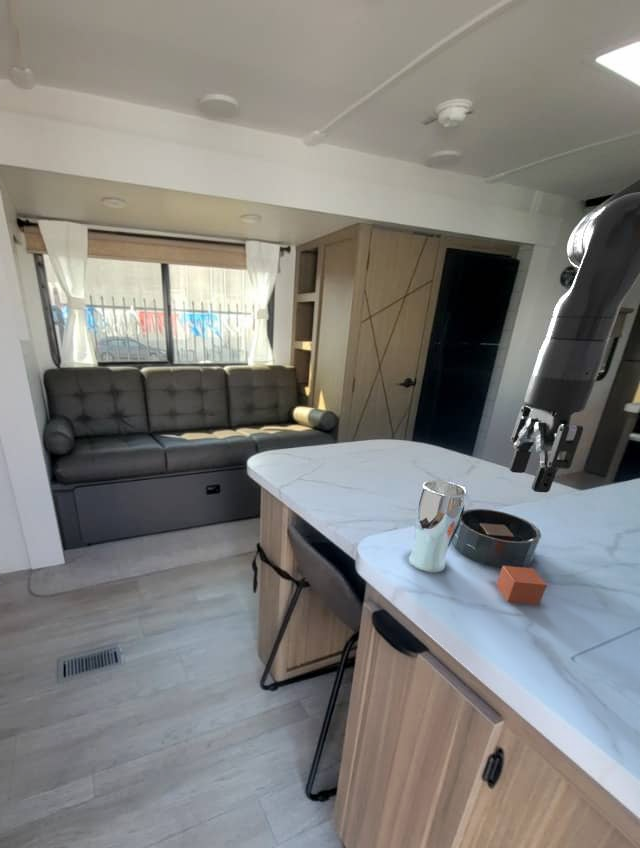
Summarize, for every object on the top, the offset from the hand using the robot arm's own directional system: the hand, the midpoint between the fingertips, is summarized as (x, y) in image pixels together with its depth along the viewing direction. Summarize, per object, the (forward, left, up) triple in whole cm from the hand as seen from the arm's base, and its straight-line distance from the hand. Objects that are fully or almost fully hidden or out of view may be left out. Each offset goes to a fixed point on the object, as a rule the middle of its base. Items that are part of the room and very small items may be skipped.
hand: (527, 481), depth 64 cm
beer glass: (+13, +2, -17) cm, 21 cm away
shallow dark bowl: (0, -5, -16) cm, 17 cm away
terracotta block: (+1, +9, -16) cm, 19 cm away
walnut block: (0, -5, -16) cm, 17 cm away
